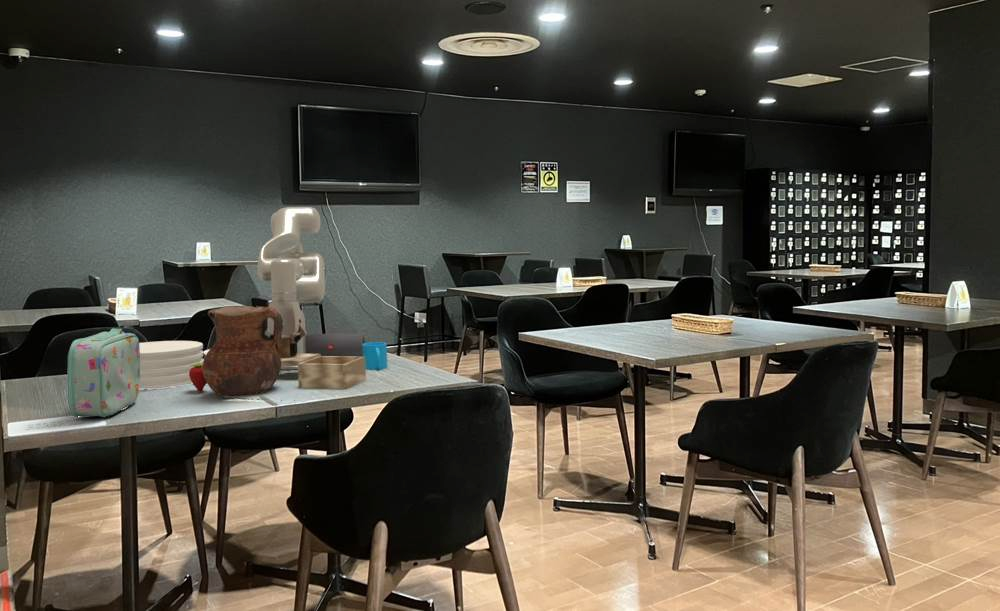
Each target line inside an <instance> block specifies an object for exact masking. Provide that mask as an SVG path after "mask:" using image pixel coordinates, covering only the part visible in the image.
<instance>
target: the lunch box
mask: <svg viewBox="0 0 1000 611" xmlns="http://www.w3.org/2000/svg"><path fill="white" fill-rule="evenodd" d="M139 343H140V340H139V338H138V336H137V335H136V334H134V333H132V332H125V331H123V329H122V328H113V327H112V328H111V329H110V331H102V332H99V333H97V334H93V335H90V336H87V337H83V338H78V339H75V340H73V341H72V343H71V345H70V347H69V350H68V354H67V371H66V372H67V403H68V408H69V412H70V413H71V415H72V416H74V417H75V418H79V417H78V416H99V418H107V417H106V416H108V417H110V416H109V415H111V416H112V415H114V414H116V413H118V411H119V412H121V411H122V410H121V409H123V408H125V407H127V406H129V405H130V406H132V405H134V404H135V403H136V402H137V398H138V396H139V379H140V347H139ZM135 401H136V402H135ZM134 402H135V403H134ZM133 403H134V404H133ZM131 404H132V405H131ZM130 406H129V407H130ZM127 408H128V407H127ZM120 410H121V411H120ZM100 416H101V417H100Z"/></svg>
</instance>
